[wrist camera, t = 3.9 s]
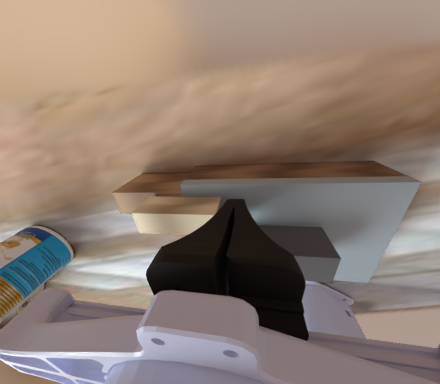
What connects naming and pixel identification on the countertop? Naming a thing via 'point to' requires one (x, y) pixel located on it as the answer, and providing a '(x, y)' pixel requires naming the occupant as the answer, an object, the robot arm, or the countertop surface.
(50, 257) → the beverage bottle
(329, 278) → the lid
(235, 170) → the brown angular frame
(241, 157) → the countertop surface
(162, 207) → the block
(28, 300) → the coffee box
